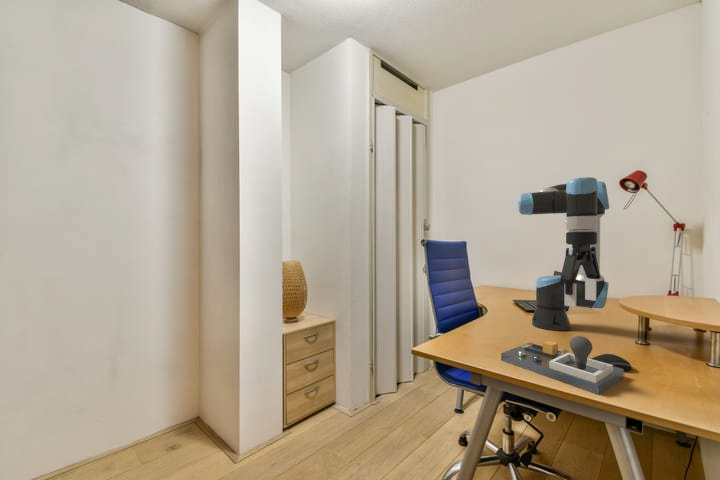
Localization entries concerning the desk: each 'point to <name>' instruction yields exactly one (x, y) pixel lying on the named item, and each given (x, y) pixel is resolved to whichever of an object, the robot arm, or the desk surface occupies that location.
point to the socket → (593, 377)
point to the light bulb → (580, 350)
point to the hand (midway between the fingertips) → (580, 303)
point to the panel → (538, 362)
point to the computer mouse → (614, 361)
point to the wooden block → (550, 347)
